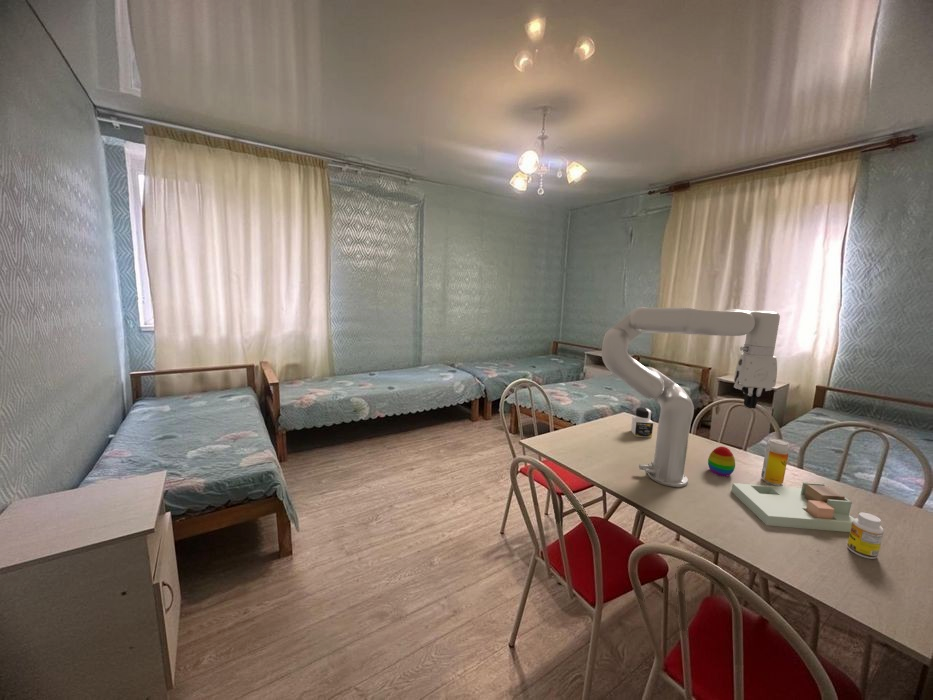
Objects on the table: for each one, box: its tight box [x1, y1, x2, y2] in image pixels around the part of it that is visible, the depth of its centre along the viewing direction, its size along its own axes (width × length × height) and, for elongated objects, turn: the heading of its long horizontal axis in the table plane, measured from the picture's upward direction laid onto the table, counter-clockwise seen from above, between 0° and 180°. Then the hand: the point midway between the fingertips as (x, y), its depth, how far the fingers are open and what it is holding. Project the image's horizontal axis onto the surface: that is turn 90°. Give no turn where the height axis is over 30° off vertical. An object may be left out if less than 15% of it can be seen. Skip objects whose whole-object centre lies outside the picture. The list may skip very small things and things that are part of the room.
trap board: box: [731, 481, 855, 533], centre depth 116 cm, size 24×18×7 cm
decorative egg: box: [707, 446, 736, 477], centre depth 139 cm, size 8×8×10 cm
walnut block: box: [804, 484, 846, 504], centre depth 115 cm, size 6×6×4 cm
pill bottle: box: [760, 437, 791, 486], centre depth 133 cm, size 6×6×15 cm
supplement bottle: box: [847, 512, 885, 560], centre depth 98 cm, size 6×6×10 cm
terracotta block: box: [806, 500, 834, 519], centre depth 111 cm, size 4×4×6 cm
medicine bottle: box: [630, 407, 654, 439], centre depth 173 cm, size 7×7×12 cm
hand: (749, 407), depth 123 cm, fingers closed
